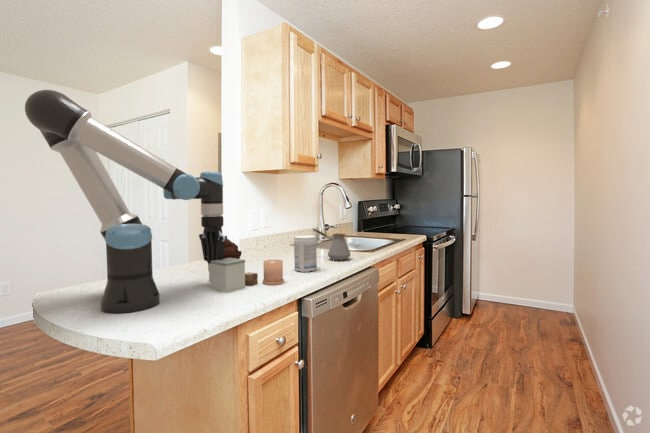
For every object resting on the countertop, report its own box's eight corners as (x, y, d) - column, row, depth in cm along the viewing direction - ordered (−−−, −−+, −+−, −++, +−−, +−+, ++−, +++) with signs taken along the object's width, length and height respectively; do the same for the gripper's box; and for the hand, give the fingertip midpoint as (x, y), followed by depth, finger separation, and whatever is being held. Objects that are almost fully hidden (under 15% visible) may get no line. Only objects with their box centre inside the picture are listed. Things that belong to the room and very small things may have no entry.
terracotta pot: (273, 286, 126) (273, 264, 126) (258, 283, 131) (257, 261, 130) (288, 282, 133) (288, 260, 132) (273, 279, 137) (272, 258, 137)
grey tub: (226, 293, 118) (226, 263, 117) (210, 289, 123) (210, 261, 122) (245, 287, 125) (245, 260, 124) (230, 284, 129) (229, 257, 129)
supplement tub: (318, 268, 157) (318, 235, 157) (314, 273, 148) (314, 237, 147) (297, 267, 159) (297, 234, 158) (291, 272, 150) (291, 237, 149)
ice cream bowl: (235, 279, 137) (234, 240, 136) (208, 277, 139) (207, 239, 139) (246, 273, 148) (246, 237, 147) (221, 272, 150) (221, 236, 149)
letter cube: (250, 286, 126) (250, 275, 126) (241, 285, 128) (241, 273, 128) (257, 284, 130) (257, 272, 130) (248, 282, 132) (248, 271, 131)
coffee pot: (354, 258, 181) (354, 229, 180) (344, 262, 171) (344, 231, 170) (317, 255, 191) (317, 227, 191) (306, 258, 181) (306, 229, 180)
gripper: (232, 215, 126) (234, 281, 128) (209, 214, 134) (210, 276, 135) (215, 216, 120) (216, 285, 121) (192, 215, 128) (193, 280, 129)
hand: (213, 281), depth 128 cm, fingers closed
